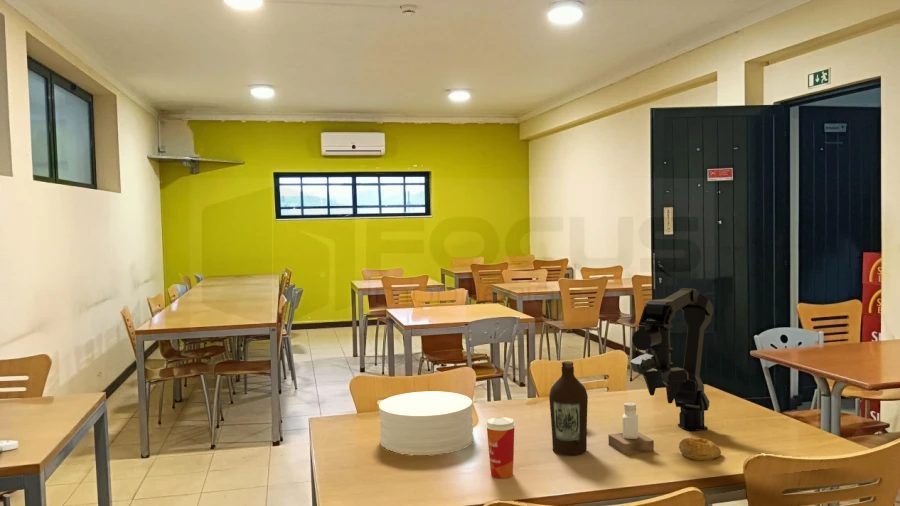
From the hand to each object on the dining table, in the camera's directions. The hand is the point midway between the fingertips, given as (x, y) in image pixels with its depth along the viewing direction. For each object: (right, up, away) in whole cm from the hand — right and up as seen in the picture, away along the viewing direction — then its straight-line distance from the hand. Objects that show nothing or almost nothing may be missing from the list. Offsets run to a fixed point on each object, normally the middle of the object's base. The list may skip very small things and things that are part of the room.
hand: (660, 399), depth 192 cm
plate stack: (-67, -15, +11) cm, 70 cm away
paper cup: (-47, -15, -20) cm, 53 cm away
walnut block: (-9, -13, -2) cm, 16 cm away
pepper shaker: (-9, -11, -2) cm, 14 cm away
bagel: (+8, -14, -9) cm, 18 cm away
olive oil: (-27, -14, -3) cm, 30 cm away
